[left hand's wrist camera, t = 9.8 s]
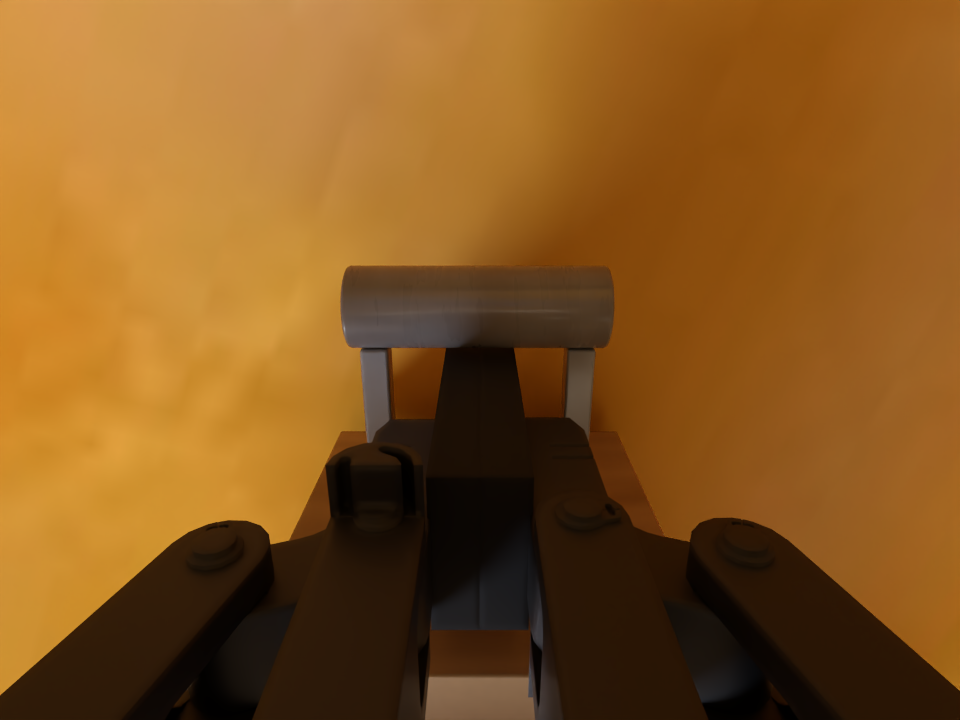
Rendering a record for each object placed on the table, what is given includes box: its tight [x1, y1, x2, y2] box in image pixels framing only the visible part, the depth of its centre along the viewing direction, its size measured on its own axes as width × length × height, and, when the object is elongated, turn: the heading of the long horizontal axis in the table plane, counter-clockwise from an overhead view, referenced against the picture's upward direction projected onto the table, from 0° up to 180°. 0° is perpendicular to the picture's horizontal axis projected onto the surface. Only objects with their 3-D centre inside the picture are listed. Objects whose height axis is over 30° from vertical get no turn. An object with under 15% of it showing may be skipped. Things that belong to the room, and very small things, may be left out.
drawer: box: [289, 266, 665, 720], centre depth 17 cm, size 26×9×9 cm, turn 0°
